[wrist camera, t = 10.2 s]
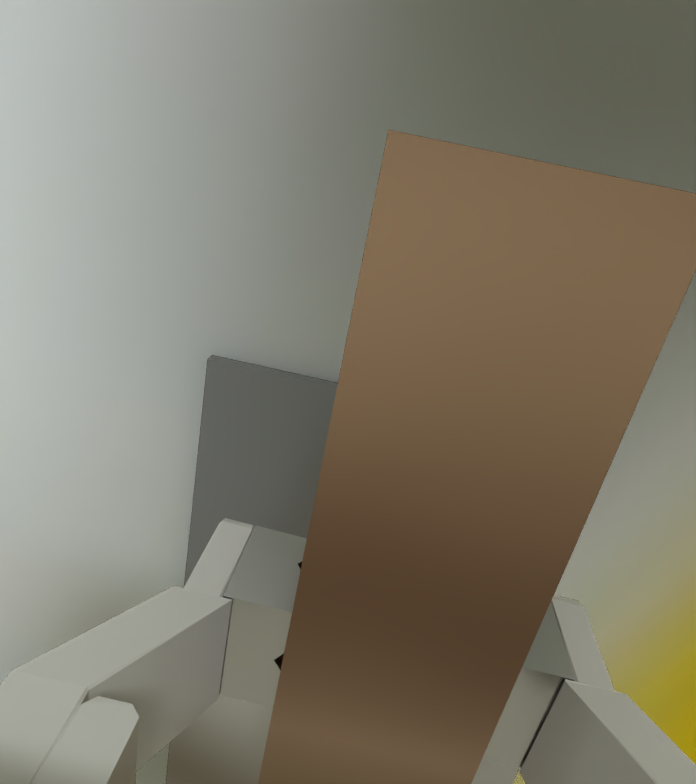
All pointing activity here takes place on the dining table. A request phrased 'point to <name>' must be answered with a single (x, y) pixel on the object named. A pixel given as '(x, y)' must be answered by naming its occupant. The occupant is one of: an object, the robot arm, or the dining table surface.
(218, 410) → the mat
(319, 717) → the turner
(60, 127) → the dining table surface
